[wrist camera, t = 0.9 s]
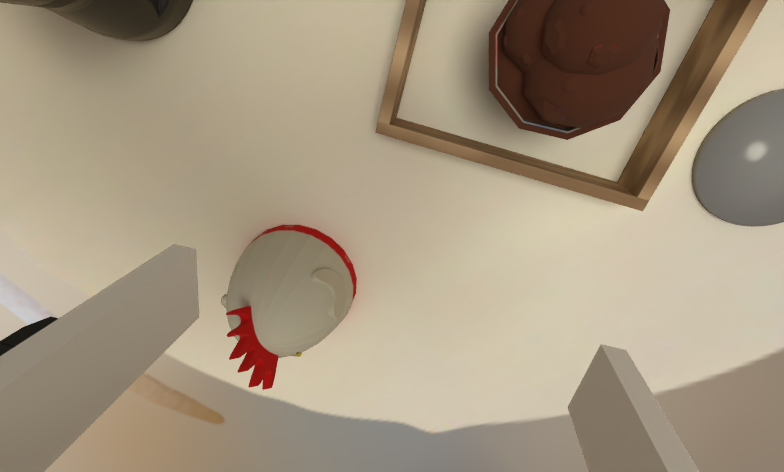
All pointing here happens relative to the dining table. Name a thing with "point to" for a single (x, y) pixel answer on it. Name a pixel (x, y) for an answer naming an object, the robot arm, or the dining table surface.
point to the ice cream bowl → (574, 61)
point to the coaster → (744, 164)
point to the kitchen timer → (286, 297)
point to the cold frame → (657, 145)
